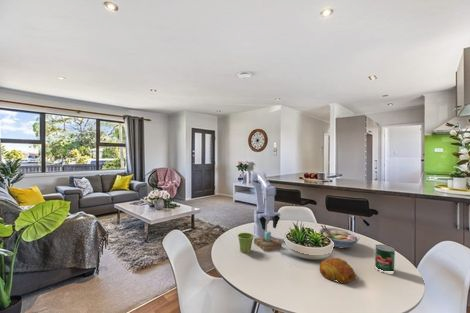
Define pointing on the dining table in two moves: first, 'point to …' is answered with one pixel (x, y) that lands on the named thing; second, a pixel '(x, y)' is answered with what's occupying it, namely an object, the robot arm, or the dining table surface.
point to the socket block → (269, 245)
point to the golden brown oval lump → (337, 270)
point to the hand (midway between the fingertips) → (269, 228)
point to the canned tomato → (384, 257)
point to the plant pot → (245, 241)
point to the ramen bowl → (340, 236)
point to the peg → (267, 236)
